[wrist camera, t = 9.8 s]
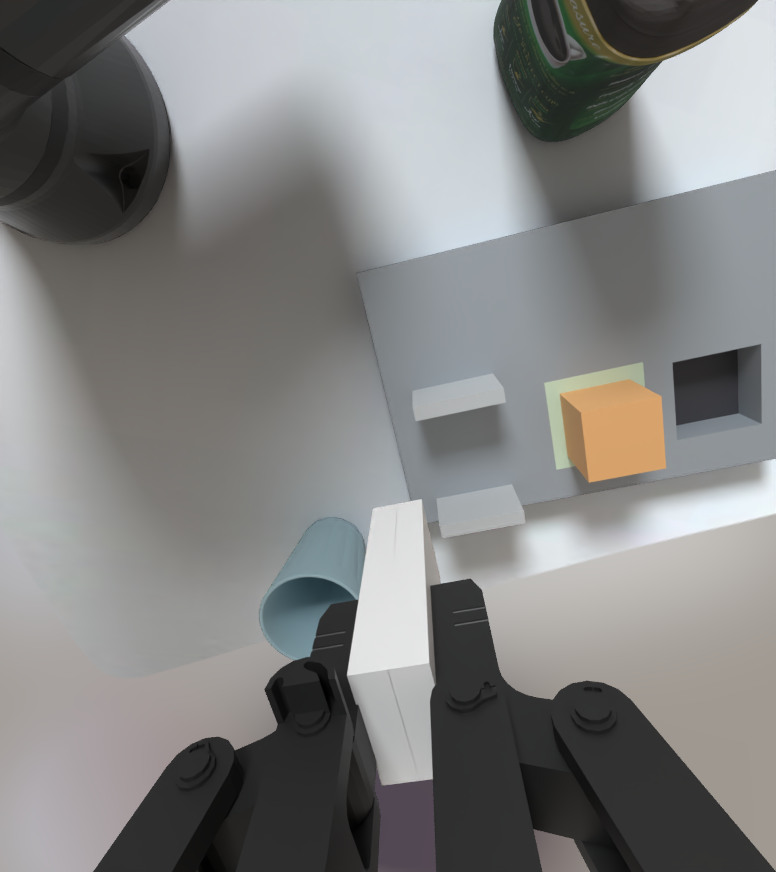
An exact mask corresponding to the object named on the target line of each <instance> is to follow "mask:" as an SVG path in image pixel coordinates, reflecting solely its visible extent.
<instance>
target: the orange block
mask: <svg viewBox="0 0 776 872" xmlns="http://www.w3.org/2000/svg"><path fill="white" fill-rule="evenodd" d="M560 401H561V409H562V417H563V425H564V433H565V440H566V448H567V456H568V457H569V458H570V460H571V461H572V462H573V463H574V465H575V466H576V467H577V468H578V470H579V471H580V472H581V473H582V475H583V476H584V477H585V478H586V480H587V481H588V482H589V483H590V482H596V481H601V480H606V479H612V478H617V477H622V476H628V475H633V474H639V473H644V472H649V471H655V470H660V469H666V458H665V442H664V427H663V411H662V396H660V395H658V394H656V393H654V392H652V391H651V390H649V389H647V388H645V387H643V386H641V385H639V384H638V383H636V382H634V381H632V380H630V379H628V380H623V381H618V382H613V383H609V384H604V385H599V386H594V387H589V388H584V389H580V390H575V391H570V392H565V393H560Z"/></svg>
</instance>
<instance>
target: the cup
mask: <svg viewBox="0 0 776 872" xmlns="http://www.w3.org/2000/svg"><path fill="white" fill-rule="evenodd" d="M364 562H365V549H364V542H363V537H362V535H361V533H360V532H359V531H358V529H357V528H356V527H355V526H354V525H352V524H351V523H349V522H347V521H345V520H343V519H339V518H326V519H322V520H319V521H317V522H315V523H314V524H313V525H312V526H311V527H309V528H308V530H307V531H306V532H305V534H304V535H303V537H302V538H301V540H300V542H299V543H298V545H297V546H296V548H295V549H294V551H293V553H292V554H291V556H290V557H289V559H288V560H287V562H286V563H285V565H284V567H283V568H282V570H281V571H280V573H279V574H278V576H277V578H276V579H275V581H274V582H273V584H272V585H271V587H270V588H269V590H268V591H267V593H266V595H265V596H264V598H263V600H262V603H261V606H260V611H259V620H260V626H261V629H262V631H263V633H264V635H265V637H266V639H267V640H268V642H269V643H270V644H271V645H272V646H273V647H274V648H275V649H276V650H277V651H278V652H280V653H281V654H283V655H284V656H286V657H288V658H290V659H292V660H298V659H302V658H305V657H310V654H311V651H312V646H313V643H314V639H315V638H316V631H317V627H318V623H319V619H320V618H321V617H322V615H323V614H324V613H325V611H326V610H327V609H328V607H329V606H330V605H331V604H335V603H341V602H347V601H353V600H358V599H359V595H360V588H361V582H362V575H363V569H364Z"/></svg>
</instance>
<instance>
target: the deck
mask: <svg viewBox="0 0 776 872" xmlns="http://www.w3.org/2000/svg"><path fill="white" fill-rule="evenodd" d="M357 277H358V282H359V286H360V290H361V294H362V298H363V302H364V307H365V311H366V315H367V319H368V323H369V327H370V331H371V336H372V340H373V344H374V348H375V352H376V356H377V361H378V365H379V369H380V373H381V377H382V381H383V386H384V390H385V394H386V398H387V402H388V406H389V411H390V415H391V419H392V423H393V427H394V431H395V435H396V440H397V444H398V448H399V452H400V456H401V460H402V465H403V469H404V473H405V477H406V481H407V485H408V490H409V494H410V498H411V501H414V500H419V499H422V502H423V506H424V510H425V515H426V519H427V523H432V522H437V521H439V527H440V531H441V536H442V538H448V537H453V536H459V535H464V534H470V533H475V532H481V531H486V530H492V529H497V528H503V527H508V526H514V525H519V524H525V523H526V520H525V514H524V510H523V508H522V506H523V505H529V504H534V503H539V502H545V501H550V500H556V499H561V498H566V497H572V496H577V495H582V494H588V493H593V492H599V491H604V490H609V489H615V488H620V487H625V486H631V485H636V484H642V483H647V482H652V481H658V480H663V479H669V478H674V477H679V476H685V475H690V474H695V473H701V472H706V471H712V470H717V469H722V468H728V467H733V466H739V465H744V464H749V463H755V462H760V461H765V460H771V459H776V170H774V171H770V172H766V173H762V174H758V175H754V176H750V177H746V178H742V179H738V180H734V181H730V182H726V183H721V184H717V185H713V186H709V187H705V188H701V189H697V190H693V191H689V192H685V193H681V194H677V195H673V196H669V197H664V198H660V199H656V200H652V201H648V202H644V203H640V204H636V205H632V206H628V207H624V208H620V209H616V210H612V211H607V212H603V213H599V214H595V215H591V216H587V217H583V218H579V219H575V220H571V221H567V222H563V223H559V224H555V225H551V226H546V227H542V228H538V229H534V230H530V231H526V232H522V233H518V234H514V235H510V236H506V237H502V238H498V239H494V240H489V241H485V242H481V243H477V244H473V245H469V246H465V247H461V248H457V249H453V250H449V251H445V252H441V253H437V254H433V255H428V256H424V257H420V258H416V259H412V260H408V261H404V262H400V263H396V264H392V265H388V266H384V267H380V268H376V269H371V270H367V271H363V272H359V273H357ZM628 379H630V380H632V381H634V382H636V383H638V384H639V385H641V386H643V387H645V388H647V389H649V390H651V391H652V392H654V393H656V394H658V395H660V396H662V411H663V427H664V442H665V458H666V469H660V470H655V471H649V472H644V473H639V474H633V475H628V476H622V477H617V478H612V479H606V480H601V481H596V482H590V483H589V482H588V481H587V480H586V478H585V477H584V476H583V475H582V473H581V472H580V471H579V470H578V468H577V467H576V466H575V465H574V463H573V462H572V461H571V460H570V458H569V457H568V456H567V448H566V440H565V433H564V425H563V417H562V409H561V401H560V393H565V392H570V391H575V390H580V389H584V388H589V387H594V386H599V385H604V384H609V383H613V382H618V381H623V380H628Z"/></svg>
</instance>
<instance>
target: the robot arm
mask: <svg viewBox="0 0 776 872" xmlns="http://www.w3.org/2000/svg"><path fill="white" fill-rule="evenodd" d="M169 1H170V0H0V221H1V222H3V223H5V224H6V225H8V226H10V227H11V228H13V229H15V230H17V231H19V232H21V233H24V234H26V235H29V236H32V237H34V238H38V239H42V240H45V241H50V242H57V243H70V244H94V243H100V242H105V241H108V240H111V239H114V238H116V237H119V236H121V235H123V234H125V233H126V232H128V231H129V230H131V229H132V228H133V227H135V226H136V225H137V224H138V223H139V222H140V221H142V220H143V218H144V217H145V216H146V215H147V214H148V213H149V211H150V210H151V209H152V207H153V205H154V204H155V202H156V200H157V199H158V197H159V195H160V192H161V190H162V188H163V185H164V182H165V178H166V174H167V170H168V164H169V156H170V134H169V125H168V119H167V114H166V109H165V106H164V102H163V99H162V96H161V93H160V90H159V88H158V86H157V83H156V81H155V79H154V77H153V75H152V73H151V71H150V69H149V68H148V66H147V64H146V63H145V61H144V60H143V58H142V56H141V55H140V54H139V52H138V51H137V50H136V48H135V47H134V46H133V45H132V44H131V42H130V41H129V40H128V39H127V38H126V37H125V36H124V35H125V34H126V33H128V32H129V31H130V30H132V29H133V28H134V27H136V26H137V25H138V24H140V23H141V22H142V21H144V20H145V19H146V18H148V17H149V16H150V15H151V14H153V13H154V12H155V11H157V10H158V9H159V8H161V7H162V6H163V5H165V4H166V3H167V2H169ZM265 692H266V695H267V697H268V700H269V702H270V705H271V708H272V710H273V713H274V715H275V718H276V721H277V723H278V726H277V729H276V731H275V732H273V733H272V734H270V735H268V736H266V737H264V738H263V739H261V740H258V741H256V742H254V743H251V744H249V745H247V746H245V747H242V748H240V749H238V750H234V748H233V747H232V745H231V744H230V742H229V741H228V740H226V739H223V738H220V737H211V738H205V739H202V740H200V741H198V742H195V743H193V744H191V745H190V746H188V747H187V748H186V749H185V750H183V751H181V752H180V753H179V754H178V755H177V756H176V757H175V758H174V759H173V760H172V761H171V763H170V764H169V765H168V766H167V767H166V769H165V770H164V772H163V773H162V774H161V776H160V777H159V779H158V780H157V782H156V783H155V784H154V786H153V787H152V789H151V790H150V792H149V793H148V794H147V796H146V797H145V799H144V800H143V801H142V803H141V804H140V806H139V807H138V809H137V810H136V811H135V813H134V814H133V816H132V817H131V819H130V820H129V821H128V823H127V824H126V826H125V827H124V829H123V830H122V831H121V833H120V834H119V836H118V837H117V839H116V840H115V842H114V843H113V844H112V846H111V847H110V849H109V850H108V851H107V853H106V854H105V856H104V857H103V859H102V860H101V862H100V863H99V864H98V866H97V867H96V869H95V870H94V871H93V872H378V854H379V835H380V809H379V802H378V799H377V796H376V793H375V777H376V768H377V771H378V774H379V777H380V781H381V784H382V785H389V784H397V783H405V782H413V781H421V780H428V779H433V796H434V822H435V844H436V845H435V847H436V872H542V868H541V864H540V859H539V854H538V850H537V845H536V840H535V835H534V831H533V829H535V830H540V831H544V832H548V833H552V834H556V835H560V836H564V837H569V838H572V839H574V841H575V843H576V845H577V847H578V849H579V851H580V853H581V855H582V857H583V859H584V861H585V863H586V864H587V866H588V868H589V870H590V872H776V871H775V870H774V869H773V868H772V866H771V865H770V864H769V863H768V862H767V860H766V859H765V858H764V857H763V856H762V854H761V853H760V852H759V851H758V850H757V849H756V848H755V846H754V845H753V844H752V843H751V842H750V840H749V839H748V838H747V837H746V836H745V834H744V833H743V832H742V831H741V830H740V828H739V827H738V826H737V825H736V824H735V823H734V821H733V820H732V819H731V818H730V817H729V815H728V814H727V813H726V812H725V811H724V809H723V808H722V807H721V806H720V805H719V804H718V802H717V801H716V800H715V799H714V798H713V796H712V795H711V794H710V793H709V792H708V791H707V789H706V788H705V787H704V786H703V785H702V784H701V782H700V781H699V780H698V779H697V778H696V776H695V775H694V774H693V773H692V772H691V770H690V769H689V768H688V767H687V766H686V764H685V763H684V762H683V761H682V760H681V759H680V757H679V756H678V755H677V754H676V753H675V751H674V750H673V749H672V748H671V747H670V746H669V744H668V743H667V742H666V741H665V740H664V739H663V737H662V736H661V735H660V734H659V733H658V731H657V730H656V729H655V728H654V727H653V725H652V724H651V723H650V722H649V721H648V720H647V718H646V717H645V716H644V715H643V714H642V712H641V711H640V710H639V709H638V708H637V707H636V705H635V704H634V703H633V702H632V701H631V700H630V699H629V698H628V697H627V696H626V695H625V694H623V693H622V692H621V691H620V690H618V689H616V688H614V687H612V686H609V685H607V684H605V683H600V682H592V681H583V682H578V683H572V684H570V685H568V686H567V687H565V688H563V689H561V690H560V691H559V692H558V694H557V695H556V696H555V698H554V699H553V700H550V699H543V698H536V697H532V696H528V695H525V694H523V693H521V692H518V691H516V690H515V689H513V688H512V687H511V686H510V685H508V684H507V682H506V681H505V680H504V679H503V677H502V676H501V673H500V670H499V667H498V663H497V658H496V653H495V650H494V644H493V639H492V635H491V630H490V626H489V622H488V616H487V612H486V607H485V602H484V598H483V593H482V590H481V589H480V588H479V587H478V586H477V585H476V584H475V583H474V582H473V581H472V580H471V579H466V580H461V581H455V582H449V583H443V584H441V583H440V575H439V570H438V566H437V562H436V558H435V553H434V549H433V545H432V540H431V536H430V532H429V528H428V523H427V519H426V515H425V510H424V506H423V502H422V499H419V500H414V501H409V502H404V503H398V504H393V505H388V506H383V507H378V508H373V511H372V517H371V524H370V530H369V537H368V543H367V550H366V556H365V562H364V569H363V575H362V582H361V588H360V595H359V599H358V600H353V601H347V602H341V603H335V604H331V605H330V606H329V607H328V609H327V610H326V611H325V613H324V614H323V615H322V617H321V618H320V619H319V623H318V627H317V631H316V638H315V639H314V643H313V646H312V651H311V654H310V657H305V658H302V659H298V660H295V661H293V662H291V663H289V664H288V665H286V666H284V667H282V668H281V669H280V670H279V671H278V672H277V673H276V674H275V675H274V676H273V677H272V678H271V679H270V681H269V683H268V684H267V686H266V688H265Z"/></svg>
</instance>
